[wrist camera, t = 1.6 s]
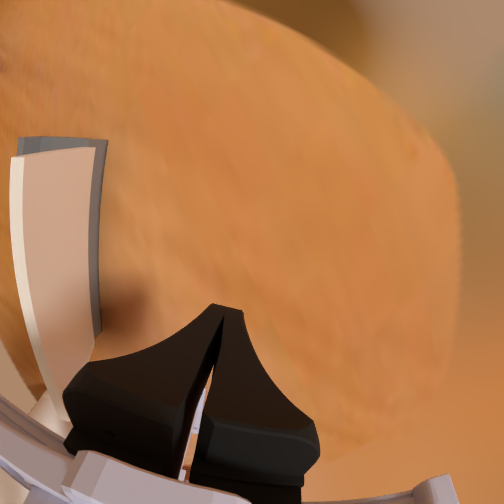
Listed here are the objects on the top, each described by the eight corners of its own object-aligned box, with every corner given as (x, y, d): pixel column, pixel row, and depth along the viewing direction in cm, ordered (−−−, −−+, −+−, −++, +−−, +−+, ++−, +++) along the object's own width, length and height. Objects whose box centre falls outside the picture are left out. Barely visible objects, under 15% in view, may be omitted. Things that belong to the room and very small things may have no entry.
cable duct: (102, 330, 24) (89, 345, 22) (40, 303, 24) (27, 314, 22) (108, 140, 18) (89, 139, 16) (37, 136, 18) (18, 137, 16)
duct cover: (87, 342, 21) (95, 344, 22) (60, 419, 13) (70, 421, 13) (86, 146, 16) (96, 147, 16) (11, 157, 7) (24, 157, 8)
